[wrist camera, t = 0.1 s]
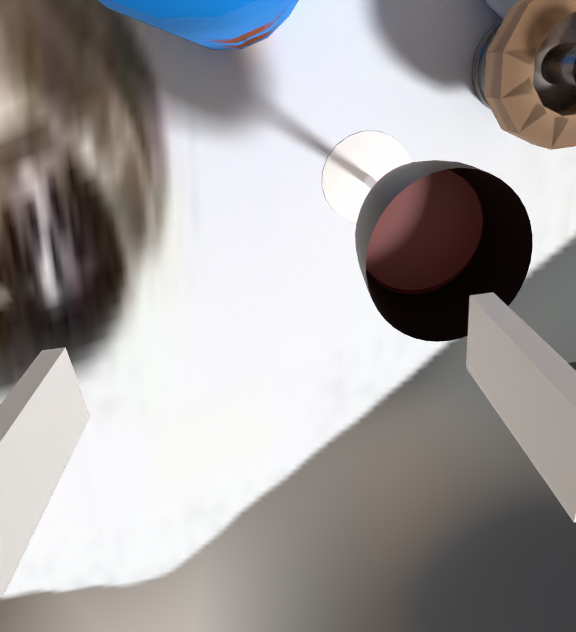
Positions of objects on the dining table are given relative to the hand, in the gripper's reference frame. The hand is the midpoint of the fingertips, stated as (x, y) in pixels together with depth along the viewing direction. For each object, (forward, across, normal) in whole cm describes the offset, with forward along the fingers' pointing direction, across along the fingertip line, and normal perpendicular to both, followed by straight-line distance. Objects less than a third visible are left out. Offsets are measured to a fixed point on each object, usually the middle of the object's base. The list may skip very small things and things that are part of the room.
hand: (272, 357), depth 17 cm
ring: (+22, +20, +6) cm, 31 cm away
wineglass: (+28, +9, -1) cm, 29 cm away
